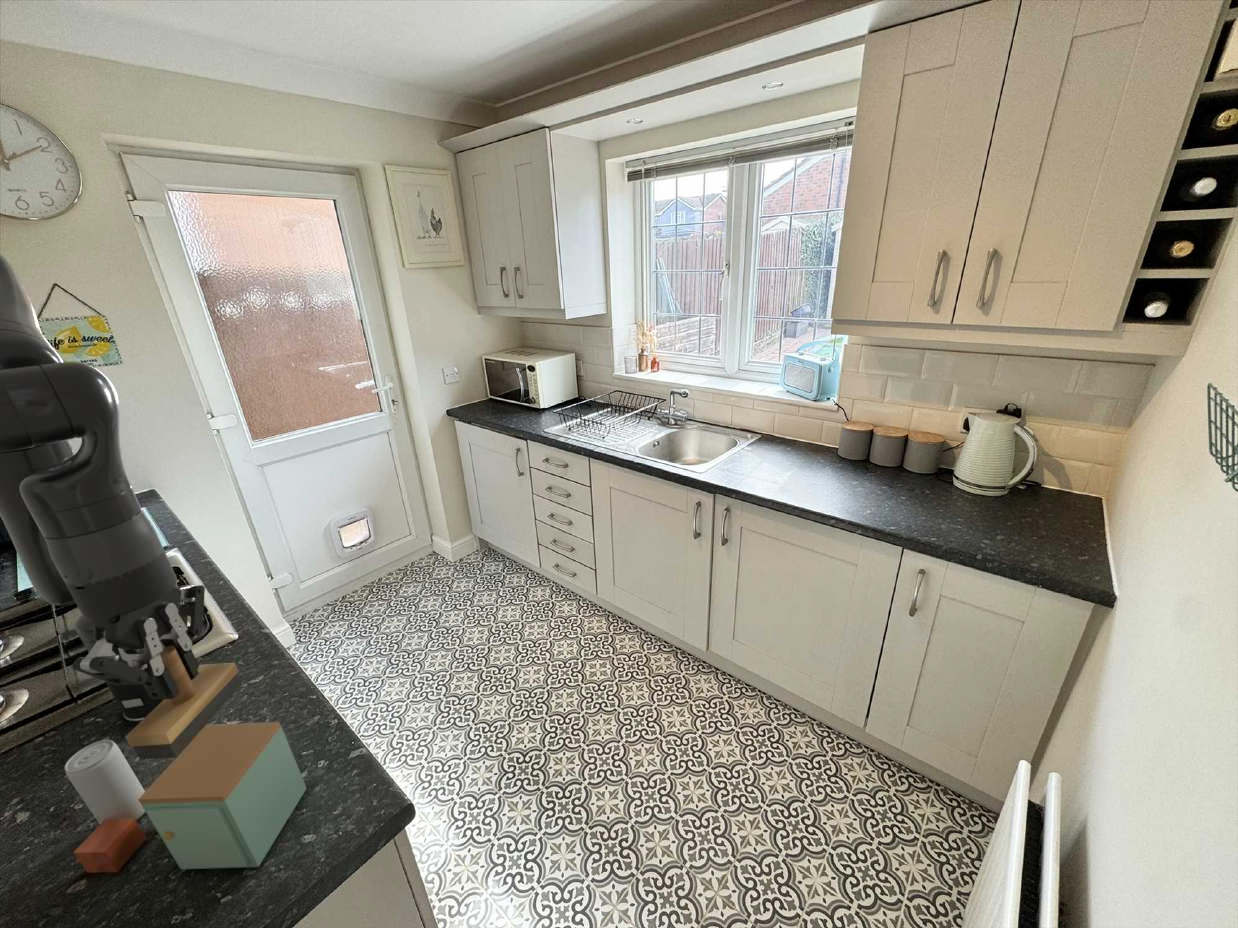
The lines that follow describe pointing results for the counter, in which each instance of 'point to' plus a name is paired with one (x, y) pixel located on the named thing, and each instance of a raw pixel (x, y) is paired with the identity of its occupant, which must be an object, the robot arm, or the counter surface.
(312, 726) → the counter surface
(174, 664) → the brush
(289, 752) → the cupboard
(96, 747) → the beverage can
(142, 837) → the terracotta block
